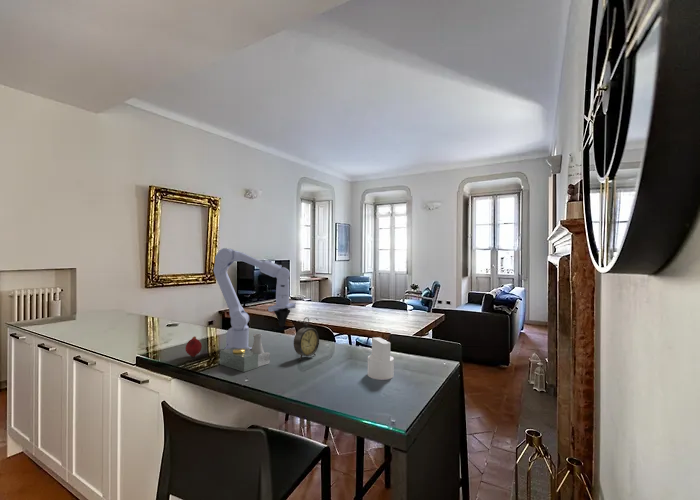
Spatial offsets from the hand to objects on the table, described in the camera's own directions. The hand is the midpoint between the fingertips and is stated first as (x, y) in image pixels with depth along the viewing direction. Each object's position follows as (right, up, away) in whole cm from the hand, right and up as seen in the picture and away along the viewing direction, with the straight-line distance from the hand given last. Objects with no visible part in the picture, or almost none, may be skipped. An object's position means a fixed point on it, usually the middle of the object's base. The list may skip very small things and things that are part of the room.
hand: (281, 326), depth 149 cm
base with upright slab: (+41, -10, -31) cm, 52 cm away
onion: (-32, -9, -15) cm, 36 cm away
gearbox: (-9, -9, -22) cm, 26 cm away
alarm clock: (+12, -10, -12) cm, 20 cm away
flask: (-6, -10, -17) cm, 21 cm away
